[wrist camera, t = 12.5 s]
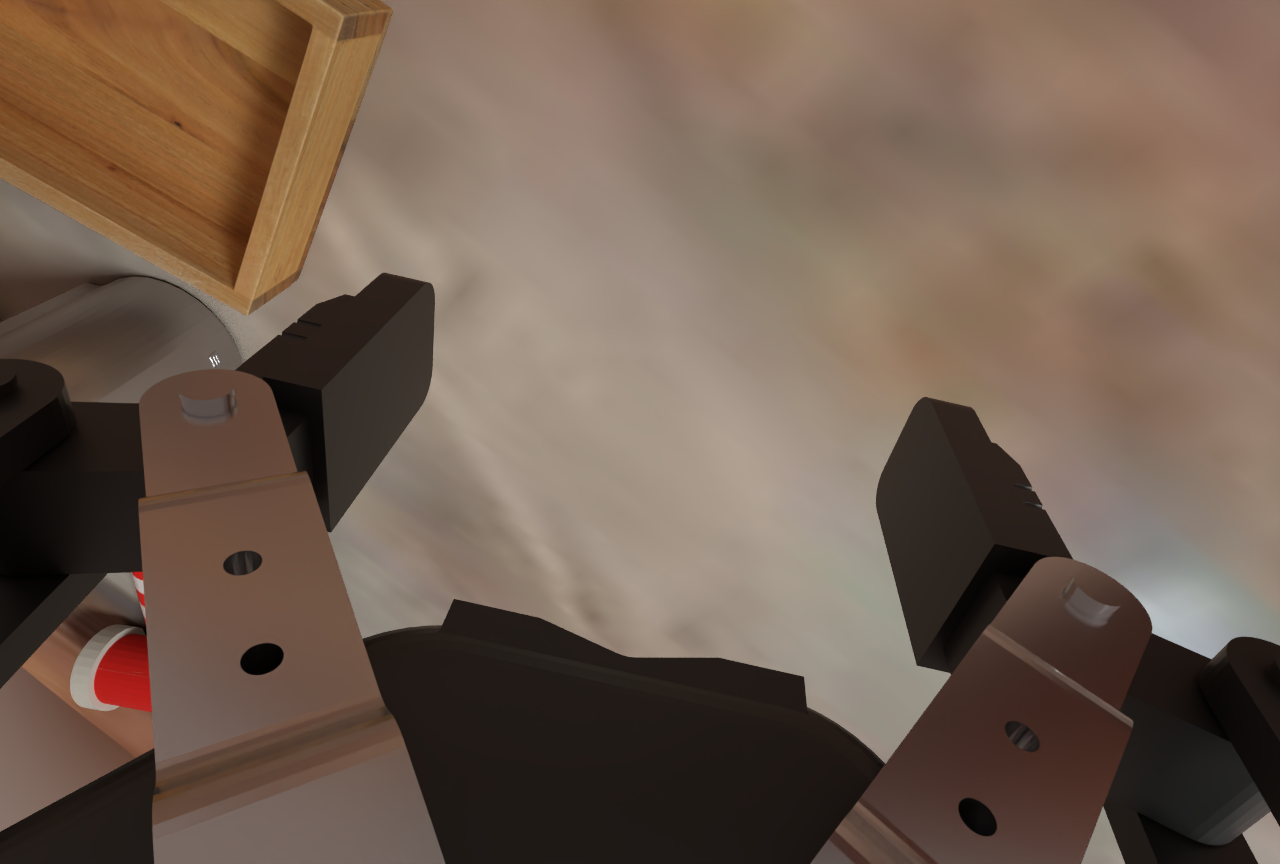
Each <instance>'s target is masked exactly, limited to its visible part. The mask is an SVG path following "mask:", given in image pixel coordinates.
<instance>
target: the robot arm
mask: <svg viewBox="0 0 1280 864" xmlns="http://www.w3.org/2000/svg"><path fill="white" fill-rule="evenodd" d="M434 310H435V294H434V289H433V286H432V284H431V283H428V282H424V281H419V280H415V279H410V278H406V277H402V276H397V275H393V274H388V273H382V274H380V275H379V276H378V277H377V278H376V279H375V280H373V281H372V282H371V283H370V284H369V285H368V286H366V287H365V288H364V289H363V290H362V291H361V292H360V293H358V294H357V295H356V296H355V297H354V296H350V295H346V294H345V295H342V296H339V297H336V298H333V299H331V300H328V301H325V302H322V303H319V304H316V305H315V306H314V307H312V308H311V309H310V310H309V311H307V312H306V313H305V314H304V315H303V316H301V317H300V318H299V319H298V321H297V323H295V322H294V323H293V324H291V325H290V326H289V327H288V328H286V329H285V330H284V331H283V332H282V336H281V335H278V336H276V337H275V338H274V339H273V340H272V341H270V342H269V343H268V344H267V345H265V346H264V347H263V348H262V349H260V350H259V351H258V352H257V353H255V354H254V355H253V356H252V357H250V358H249V359H248V360H247V361H245V362H244V363H243V364H242V361H241V357H240V354H239V352H238V349H237V347H236V345H235V342H234V341H233V339H232V338H231V336H230V334H229V333H228V331H227V330H226V328H225V327H224V326H223V324H222V323H221V322H220V321H219V320H218V319H217V317H216V316H215V315H214V314H213V313H212V312H211V311H210V310H209V309H207V308H206V307H205V306H204V305H203V304H202V303H201V302H200V301H198V300H197V299H195V298H194V297H192V296H191V295H189V294H188V293H186V292H185V291H183V290H181V289H179V288H177V287H175V286H172V285H170V284H168V283H166V282H162V281H159V280H155V279H152V278H146V277H126V278H120V279H117V280H115V281H113V282H111V283H109V284H106V285H103V286H98V285H94V284H90V283H84V284H81V285H79V286H77V287H75V288H73V289H71V290H68V291H66V292H64V293H62V294H60V295H58V296H56V297H53V298H51V299H49V300H47V301H45V302H43V303H41V304H38V305H36V306H34V307H32V308H30V309H28V310H26V311H23V312H21V313H19V314H17V315H15V316H13V317H11V318H8V319H6V320H4V321H2V322H0V688H1V687H2V686H3V685H4V684H5V683H6V682H7V681H8V680H9V679H10V678H11V677H12V675H14V673H15V672H16V671H17V670H18V669H19V668H20V667H21V666H22V665H23V664H24V663H25V662H26V661H27V660H28V658H29V657H30V656H31V655H32V654H33V653H34V652H35V651H36V650H37V649H38V648H39V647H40V646H41V644H42V643H43V642H44V641H45V640H46V639H47V638H48V637H49V636H50V635H51V634H52V633H53V632H54V631H55V629H56V628H57V627H58V626H59V625H60V624H61V623H62V622H63V621H64V620H65V619H66V618H67V617H68V616H69V614H70V613H71V612H72V611H73V610H74V609H75V608H76V607H77V606H78V605H79V604H80V603H81V602H82V600H83V599H84V598H85V597H86V596H87V595H88V594H89V593H90V592H91V591H92V590H93V589H94V588H95V587H96V585H97V584H98V583H99V582H100V581H101V580H102V579H103V578H104V577H105V576H106V575H107V573H121V572H143V585H144V600H145V615H146V630H147V645H148V660H149V675H150V690H151V705H152V720H153V735H154V749H152V750H150V751H148V752H146V753H144V754H143V755H141V756H139V757H137V758H135V759H133V760H132V761H130V762H128V763H126V764H124V765H122V766H120V767H119V768H117V769H115V770H113V771H111V772H110V773H108V774H106V775H104V776H102V777H100V778H98V779H97V780H95V781H93V782H91V783H89V784H88V785H86V786H84V787H82V788H80V789H78V790H76V791H75V792H73V793H71V794H69V795H67V796H65V797H63V798H62V799H60V800H58V801H56V802H54V803H52V804H51V805H49V806H47V807H45V808H43V809H41V810H39V811H38V812H36V813H34V814H32V815H30V816H29V817H27V818H25V819H23V820H21V821H19V822H18V823H16V824H14V825H12V826H10V827H8V828H7V829H5V830H3V831H1V832H0V864H1081V863H1082V860H1083V858H1084V855H1085V852H1086V850H1087V847H1088V844H1089V842H1090V839H1091V837H1092V834H1093V831H1094V829H1095V826H1096V823H1097V821H1098V818H1099V816H1100V813H1101V810H1102V808H1103V806H1104V809H1105V811H1106V814H1107V817H1108V819H1109V822H1110V825H1111V827H1112V830H1113V832H1114V835H1115V838H1116V840H1117V843H1118V846H1119V848H1120V851H1121V853H1122V856H1123V859H1124V861H1125V864H1258V862H1257V861H1256V859H1255V857H1254V855H1253V853H1252V851H1251V849H1250V847H1249V846H1248V844H1247V842H1246V840H1245V838H1244V836H1243V834H1242V833H1243V832H1244V831H1245V830H1247V829H1248V828H1249V827H1251V826H1252V825H1253V824H1255V823H1256V822H1257V821H1258V820H1260V819H1261V818H1262V817H1264V816H1265V815H1266V814H1268V813H1269V812H1270V811H1271V812H1272V814H1273V816H1274V817H1275V819H1276V821H1277V823H1278V824H1279V826H1280V646H1279V645H1277V644H1274V643H1272V642H1268V641H1265V640H1262V639H1258V638H1253V637H1237V638H1234V639H1232V640H1231V641H1230V642H1229V643H1228V644H1227V645H1226V646H1225V647H1224V648H1223V649H1222V650H1221V651H1220V652H1219V653H1218V654H1217V655H1216V656H1215V657H1214V658H1213V659H1209V658H1207V657H1205V656H1202V655H1200V654H1198V653H1196V652H1193V651H1191V650H1189V649H1186V648H1184V647H1182V646H1180V645H1177V644H1175V643H1173V642H1170V641H1168V640H1166V639H1164V638H1161V637H1159V636H1157V635H1155V634H1152V622H1151V619H1150V617H1149V615H1148V613H1147V611H1146V610H1145V608H1144V607H1143V605H1142V604H1141V603H1140V601H1139V600H1138V599H1137V598H1136V597H1135V596H1134V595H1133V594H1132V593H1131V592H1130V591H1129V590H1127V589H1126V588H1125V587H1124V586H1123V585H1121V584H1120V583H1119V582H1117V581H1116V580H1115V579H1113V578H1112V577H1110V576H1108V575H1107V574H1105V573H1104V572H1102V571H1100V570H1098V569H1096V568H1094V567H1092V566H1090V565H1087V564H1085V563H1082V562H1079V561H1076V560H1073V558H1072V556H1071V555H1070V553H1069V551H1068V549H1067V548H1066V546H1065V544H1064V542H1063V541H1062V539H1061V537H1060V535H1059V533H1058V532H1057V530H1056V528H1055V526H1054V525H1053V523H1052V521H1051V519H1050V518H1049V516H1048V514H1047V512H1046V511H1045V510H1043V509H1042V506H1043V505H1042V503H1041V502H1040V500H1039V498H1038V496H1037V495H1036V493H1035V492H1034V491H1031V490H1032V486H1031V484H1030V482H1029V481H1028V479H1027V477H1026V475H1025V473H1024V472H1023V470H1022V468H1021V466H1020V465H1019V464H1018V463H1017V462H1016V461H1015V460H1014V459H1012V458H1011V457H1010V456H1009V455H1008V454H1007V453H1006V452H1005V451H1004V450H1003V449H1002V448H1001V447H1000V446H999V445H997V444H996V443H991V441H990V439H989V437H988V435H987V433H986V431H985V430H984V428H983V426H982V424H981V422H980V420H979V418H978V416H977V415H976V413H975V411H974V410H973V409H972V408H971V407H967V406H963V405H958V404H954V403H950V402H945V401H941V400H937V399H932V398H928V397H923V398H922V399H920V400H919V401H918V402H917V403H916V405H915V406H914V408H913V410H912V412H911V414H910V416H909V418H908V420H907V422H906V424H905V426H904V428H903V430H902V432H901V434H900V436H899V438H898V441H897V443H896V445H895V447H894V449H893V451H892V453H891V455H890V457H889V459H888V461H887V463H886V465H885V467H884V470H883V472H882V474H881V477H880V480H879V483H878V488H877V494H876V508H877V513H878V516H879V520H880V524H881V528H882V532H883V536H884V540H885V544H886V548H887V551H888V555H889V559H890V563H891V567H892V571H893V575H894V579H895V582H896V586H897V590H898V594H899V598H900V602H901V606H902V610H903V613H904V617H905V621H906V625H907V629H908V633H909V637H910V641H911V645H912V648H913V652H914V656H915V660H916V664H917V666H922V667H926V668H931V669H935V670H940V671H944V672H949V673H951V676H950V677H949V679H948V680H947V681H946V683H945V684H944V686H943V687H942V688H941V690H940V691H939V692H938V694H937V695H936V696H935V698H934V699H933V700H932V702H931V703H930V704H929V706H928V707H927V708H926V710H925V711H924V713H923V714H922V715H921V717H920V718H919V719H918V721H917V722H916V723H915V725H914V726H913V727H912V729H911V730H910V731H909V733H908V734H907V736H906V737H905V738H904V740H903V741H902V742H901V744H900V745H899V746H898V748H897V749H896V750H895V752H894V753H893V754H892V756H891V757H890V758H889V760H888V761H887V763H886V764H885V763H884V762H883V761H882V760H881V759H880V758H879V757H878V756H877V755H876V754H875V753H874V752H873V751H872V750H871V749H869V748H868V747H867V746H866V745H865V744H864V743H862V742H861V741H860V740H859V739H858V738H856V737H855V736H854V735H853V734H851V733H850V732H848V731H847V730H846V729H844V728H843V727H841V726H840V725H838V724H837V723H835V722H834V721H832V720H830V719H829V718H827V717H825V716H823V715H822V714H820V713H818V712H816V711H814V710H812V709H810V708H808V707H807V704H806V693H805V683H804V677H802V676H798V675H793V674H789V673H784V672H780V671H775V670H771V669H766V668H762V667H757V666H753V665H748V664H744V663H739V662H735V661H730V660H726V659H722V658H634V657H627V656H623V655H620V654H617V653H615V652H613V651H611V650H609V649H606V648H604V647H602V646H600V645H598V644H595V643H593V642H591V641H589V640H587V639H585V638H582V637H580V636H578V635H576V634H574V633H572V632H569V631H567V630H565V629H563V628H561V627H558V626H556V625H554V624H552V623H550V622H548V621H545V620H543V619H541V618H537V617H533V616H528V615H524V614H519V613H515V612H510V611H506V610H501V609H497V608H492V607H488V606H483V605H479V604H474V603H470V602H465V601H461V600H456V599H454V600H453V602H452V605H451V607H450V609H449V611H448V614H447V616H446V618H445V620H444V623H443V625H438V626H420V627H410V628H403V629H398V630H393V631H388V632H383V633H380V634H377V635H373V636H370V637H367V638H363V639H362V636H361V633H360V630H359V627H358V624H357V621H356V618H355V615H354V612H353V609H352V606H351V603H350V600H349V597H348V594H347V590H346V587H345V584H344V581H343V578H342V575H341V572H340V569H339V566H338V563H337V560H336V557H335V554H334V551H333V548H332V545H331V542H330V539H329V536H328V533H327V532H332V530H333V529H334V527H335V526H336V525H337V523H338V522H339V520H340V519H341V518H342V516H343V515H344V513H345V512H346V511H347V509H348V508H349V507H350V505H351V504H352V502H353V501H354V500H355V498H356V497H357V495H358V494H359V493H360V491H361V490H362V488H363V487H364V486H365V484H366V483H367V481H368V480H369V479H370V477H371V476H372V474H373V473H374V472H375V470H376V469H377V467H378V466H379V465H380V463H381V462H382V460H383V459H384V458H385V456H386V455H387V453H388V452H389V451H390V449H391V448H392V446H393V445H394V444H395V442H396V441H397V439H398V438H399V437H400V435H401V434H402V432H403V431H404V430H405V428H406V427H407V425H408V424H409V423H410V421H411V420H412V418H413V417H414V416H415V414H416V413H417V411H418V410H419V409H420V407H421V406H422V404H423V402H424V400H425V398H426V396H427V393H428V390H429V386H430V382H431V377H432V366H433V338H434Z"/></svg>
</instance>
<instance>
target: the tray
mask: <svg viewBox="0 0 1280 864" xmlns="http://www.w3.org/2000/svg"><path fill="white" fill-rule="evenodd" d="M392 12H393V10H392V9H391V8H390V7H388V6H387V5H386V4H384V3H383V2H381V1H380V0H0V178H1V179H3V180H4V181H6V182H8V183H10V184H12V185H13V186H15V187H17V188H19V189H20V190H22V191H24V192H26V193H28V194H29V195H31V196H33V197H35V198H36V199H38V200H40V201H42V202H44V203H45V204H47V205H49V206H51V207H53V208H54V209H56V210H58V211H60V212H62V213H63V214H65V215H67V216H69V217H70V218H72V219H74V220H76V221H78V222H79V223H81V224H83V225H85V226H87V227H88V228H90V229H92V230H94V231H95V232H97V233H99V234H101V235H103V236H104V237H106V238H108V239H110V240H111V241H113V242H115V243H117V244H119V245H120V246H122V247H124V248H126V249H128V250H129V251H131V252H133V253H135V254H136V255H138V256H140V257H142V258H144V259H145V260H147V261H149V262H151V263H152V264H154V265H156V266H158V267H160V268H161V269H163V270H165V271H167V272H169V273H170V274H172V275H174V276H176V277H177V278H179V279H181V280H183V281H185V282H186V283H188V284H190V285H192V286H193V287H195V288H197V289H199V290H201V291H202V292H204V293H206V294H208V295H210V296H211V297H213V298H215V299H217V300H219V301H220V302H222V303H224V304H226V305H228V306H230V307H231V308H233V309H235V310H237V311H239V312H240V313H242V314H244V315H246V316H247V315H249V314H251V313H252V312H254V311H255V310H257V309H258V308H259V307H261V306H262V305H264V304H265V303H267V302H268V301H269V300H271V299H272V298H274V297H275V296H277V295H278V294H279V293H281V292H282V291H284V290H285V289H286V288H288V287H289V286H290V285H291V284H292V283H294V282H295V281H296V280H297V279H298V278H299V276H300V273H301V270H302V268H303V265H304V262H305V259H306V257H307V254H308V251H309V248H310V246H311V243H312V240H313V237H314V234H315V232H316V229H317V226H318V223H319V221H320V218H321V215H322V212H323V209H324V207H325V204H326V201H327V198H328V195H329V193H330V190H331V187H332V184H333V181H334V179H335V176H336V173H337V170H338V167H339V164H340V162H341V159H342V156H343V153H344V150H345V148H346V145H347V142H348V139H349V136H350V133H351V130H352V128H353V125H354V122H355V119H356V116H357V113H358V111H359V108H360V105H361V102H362V99H363V96H364V94H365V91H366V88H367V85H368V82H369V79H370V77H371V74H372V71H373V68H374V65H375V62H376V60H377V57H378V54H379V51H380V48H381V45H382V43H383V40H384V37H385V34H386V31H387V28H388V25H389V22H390V19H391V16H392Z"/></svg>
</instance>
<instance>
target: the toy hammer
mask: <svg viewBox="0 0 1280 864" xmlns="http://www.w3.org/2000/svg"><path fill="white" fill-rule="evenodd" d="M131 573H132V577H133V580H134V584H135V587H136V591H137V594H138V598H139V601H140V605H141V609H142V612H143V616H144V619H145V623H146V615H145V600H144V585H143V572H131ZM70 691H71V695H72V698H73V700H74V701H75V702H76V703H77V704H78V705H79V706H81V707H84V708H90V709H95V710H101V711H109V710H113V709H116V708H118V707H120V706H121V707H126V708H132V709H137V710H143V711H148V712H152V705H151V690H150V675H149V660H148V645H147V636H146V635H145V633H144V631H143V628H139V627H134V626H128V625H122V624H115V625H111V626H108V627H106V628H104V629H102V630H101V631H100V632H98V633H97V634H96V635H94V636H93V637H92V638H91V639H90V640H89V641H88V643H87V644H86V645H85V647H84V648H83V649H82V651H81V653H80V654H79V656H78V658H77V660H76V662H75V664H74V667H73V670H72V674H71V680H70Z"/></svg>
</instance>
